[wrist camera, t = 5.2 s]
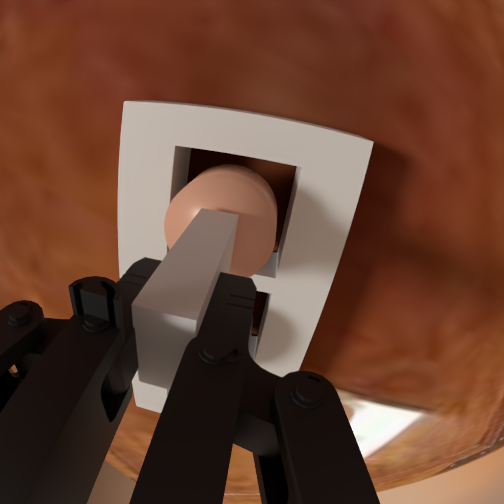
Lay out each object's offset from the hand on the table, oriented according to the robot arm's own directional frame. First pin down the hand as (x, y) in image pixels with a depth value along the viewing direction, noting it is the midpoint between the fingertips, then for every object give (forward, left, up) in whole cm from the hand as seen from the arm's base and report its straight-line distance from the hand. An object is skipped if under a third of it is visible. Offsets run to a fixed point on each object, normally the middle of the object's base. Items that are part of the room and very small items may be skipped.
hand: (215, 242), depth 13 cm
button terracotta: (0, 0, -4) cm, 4 cm away
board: (+7, 0, -6) cm, 9 cm away
